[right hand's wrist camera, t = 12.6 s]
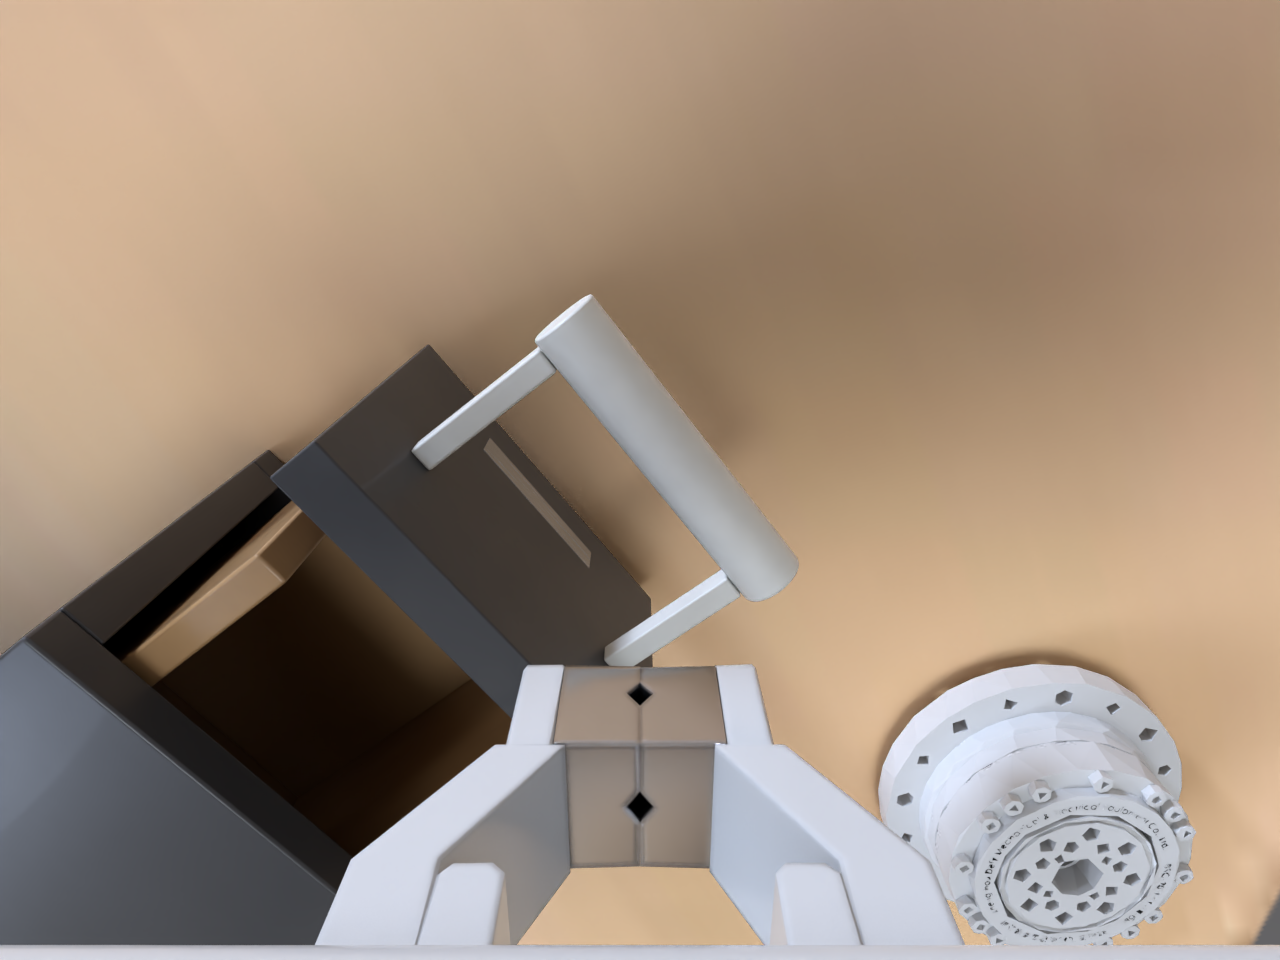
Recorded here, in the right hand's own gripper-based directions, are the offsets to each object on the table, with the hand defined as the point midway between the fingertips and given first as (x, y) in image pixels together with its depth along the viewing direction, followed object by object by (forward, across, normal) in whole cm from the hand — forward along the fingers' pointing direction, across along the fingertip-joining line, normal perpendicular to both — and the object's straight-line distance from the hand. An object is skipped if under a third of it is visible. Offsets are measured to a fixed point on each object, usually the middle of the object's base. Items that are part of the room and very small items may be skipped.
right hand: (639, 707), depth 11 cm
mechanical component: (+14, +13, -14) cm, 24 cm away
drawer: (+13, -6, -5) cm, 15 cm away
